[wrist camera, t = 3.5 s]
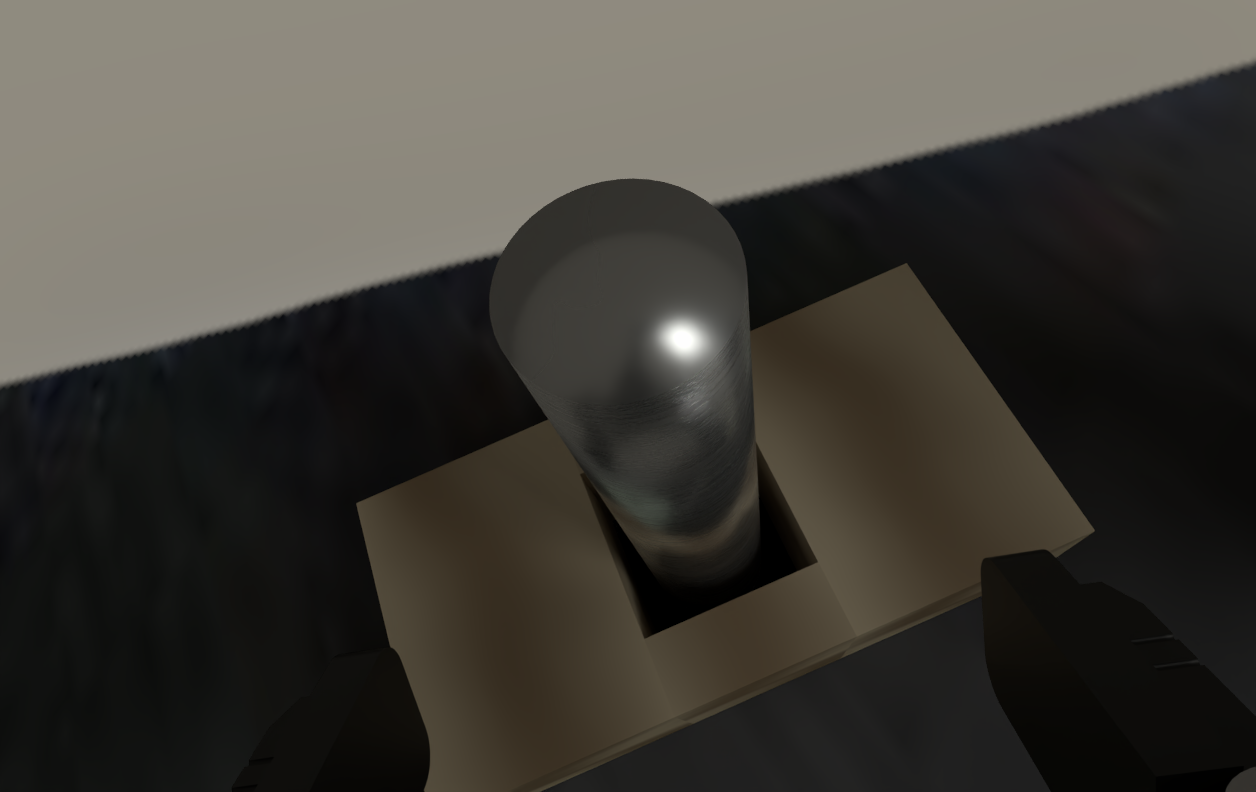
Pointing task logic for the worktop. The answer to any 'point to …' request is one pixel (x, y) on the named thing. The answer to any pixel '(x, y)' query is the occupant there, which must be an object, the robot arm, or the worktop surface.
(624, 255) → the axle
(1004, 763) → the worktop surface
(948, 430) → the wooden block with hole
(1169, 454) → the worktop surface
